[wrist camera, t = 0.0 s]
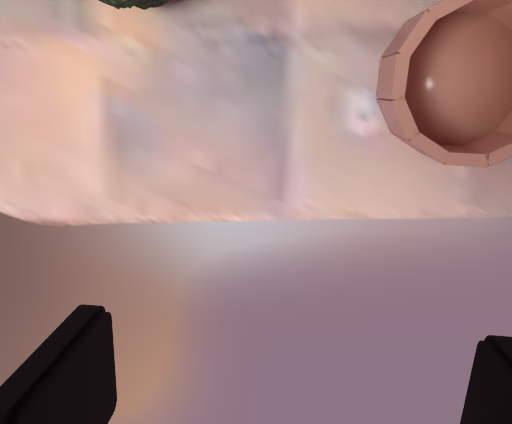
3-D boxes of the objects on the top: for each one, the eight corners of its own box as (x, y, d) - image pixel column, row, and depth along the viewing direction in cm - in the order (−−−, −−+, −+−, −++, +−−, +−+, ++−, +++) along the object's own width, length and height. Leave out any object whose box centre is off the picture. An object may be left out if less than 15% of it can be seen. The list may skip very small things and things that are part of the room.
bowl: (387, -2, 36) (405, -19, 30) (545, 3, 35) (595, -14, 29) (369, 150, 40) (383, 161, 34) (512, 158, 39) (550, 170, 33)
